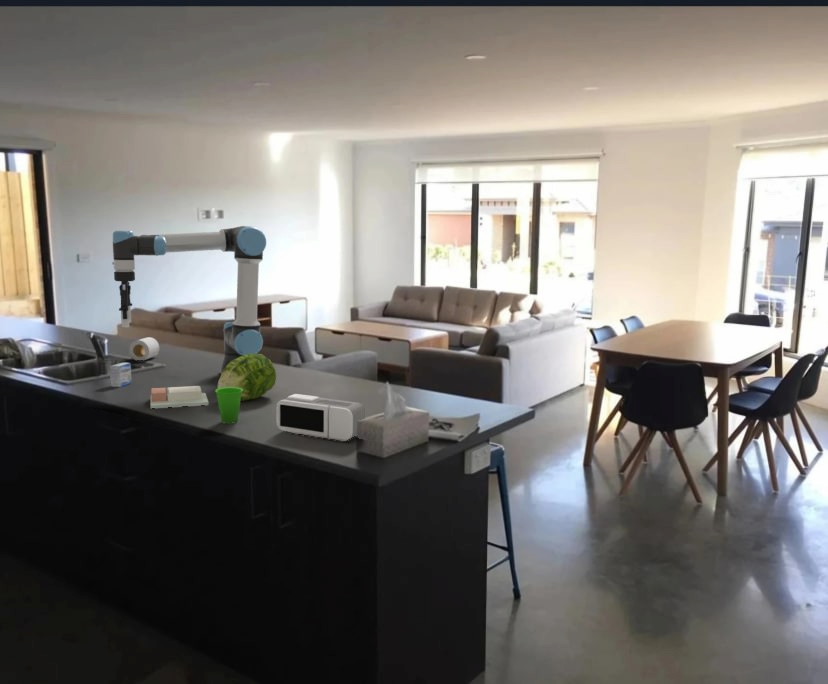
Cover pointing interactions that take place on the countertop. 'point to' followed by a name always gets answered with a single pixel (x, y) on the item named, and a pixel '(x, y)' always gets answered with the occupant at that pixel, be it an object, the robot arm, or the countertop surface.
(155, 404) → the board
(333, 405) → the alarm clock
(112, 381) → the medicine box
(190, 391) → the cream flat block
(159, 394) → the pink rectangular block
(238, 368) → the lettuce
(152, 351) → the toilet paper
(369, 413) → the countertop surface
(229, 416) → the cup
